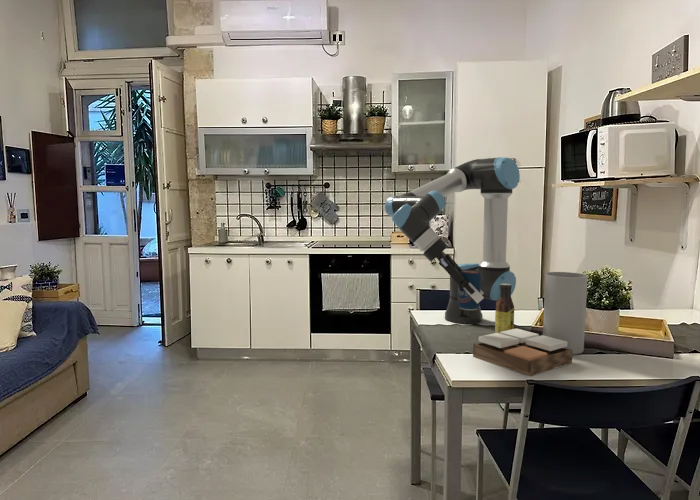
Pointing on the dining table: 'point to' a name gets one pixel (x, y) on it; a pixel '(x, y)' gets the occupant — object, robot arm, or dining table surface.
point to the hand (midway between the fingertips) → (480, 298)
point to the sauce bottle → (504, 310)
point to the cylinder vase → (565, 308)
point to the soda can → (463, 297)
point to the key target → (525, 353)
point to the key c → (546, 343)
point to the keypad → (519, 364)
